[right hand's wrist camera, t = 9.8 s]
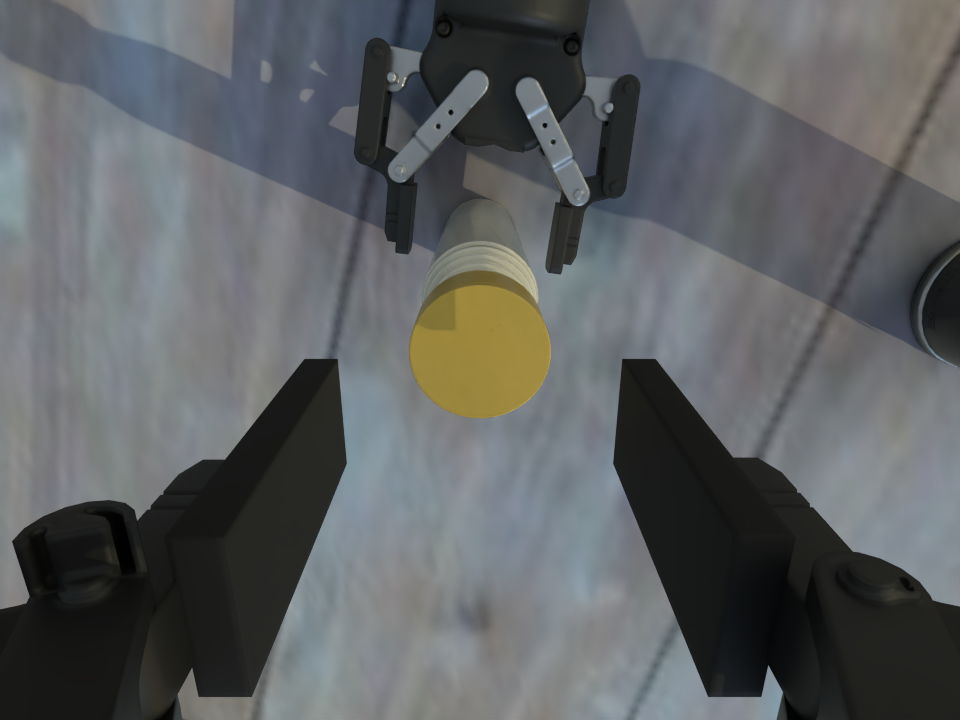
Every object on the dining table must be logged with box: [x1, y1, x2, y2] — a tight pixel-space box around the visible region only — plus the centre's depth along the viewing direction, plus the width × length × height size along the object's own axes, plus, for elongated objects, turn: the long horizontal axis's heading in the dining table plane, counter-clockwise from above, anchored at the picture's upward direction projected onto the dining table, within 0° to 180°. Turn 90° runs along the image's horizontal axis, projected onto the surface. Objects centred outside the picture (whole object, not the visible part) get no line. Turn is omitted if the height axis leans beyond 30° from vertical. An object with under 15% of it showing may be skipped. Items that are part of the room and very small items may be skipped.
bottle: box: [422, 199, 538, 304], centre depth 29 cm, size 5×5×23 cm
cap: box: [409, 270, 551, 418], centre depth 19 cm, size 4×4×2 cm
